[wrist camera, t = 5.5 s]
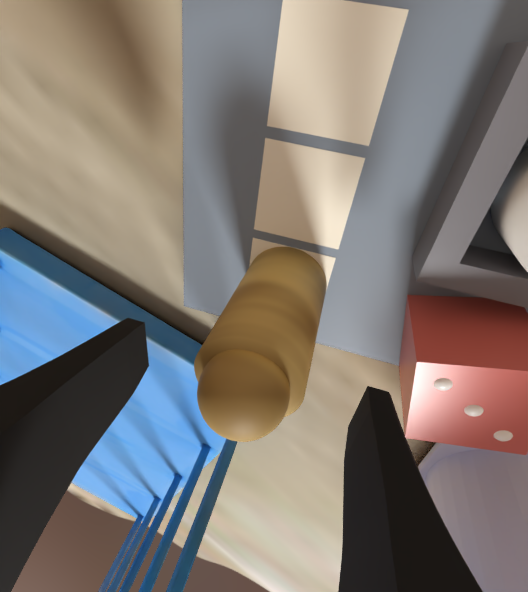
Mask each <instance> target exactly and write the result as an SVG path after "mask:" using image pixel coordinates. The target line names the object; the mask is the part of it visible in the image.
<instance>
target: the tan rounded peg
mask: <svg viewBox="0 0 528 592" xmlns="http://www.w3.org/2000/svg"><path fill="white" fill-rule="evenodd" d="M326 289H327V282H326V277H325V274H324V271H323V269H322V268H321V266H320V265H319V263H318V262H317V261H316V260H315V259H314V258H313V257H312V256H310V255H309V254H307V253H306V252H304V251H301V250H299V249H296V248H292V247H283V246H282V247H274V248H270V249H267V250H265V251H263V252H262V253H260V254H259V255H258V256H257V257H256V258H255V259H254V260H253V262H252V263H251V265H250V267H249V268H248V270H247V272H246V273H245V275H244V277H243V278H242V280H241V282H240V283H239V285H238V287H237V288H236V290H235V292H234V293H233V295H232V297H231V298H230V300H229V302H228V303H227V305H226V307H225V308H224V310H223V312H222V313H221V315H220V317H219V318H218V320H217V322H216V323H215V325H214V327H213V328H212V330H211V332H210V333H209V335H208V337H207V338H206V340H205V342H204V343H203V345H202V347H201V348H200V350H199V352H198V354H197V355H196V358H195V362H194V371H195V375H196V378H197V381H198V388H197V402H198V406H199V410H200V412H201V415H202V417H203V419H204V420H205V422H206V423H207V425H208V426H209V427H210V428H211V429H212V430H213V431H214V432H216V433H217V434H218V435H220V436H222V437H224V438H226V439H229V440H232V441H239V442H248V441H253V440H257V439H259V438H262V437H264V436H266V435H267V434H269V433H270V432H272V431H273V430H274V429H275V428H276V427H277V426H278V425H279V423H280V422H281V421H282V419H283V418H284V417H286V416H288V415H290V414H292V413H293V412H295V411H296V410H297V409H298V408H299V407H300V405H301V404H302V402H303V399H304V395H305V391H306V386H307V381H308V376H309V371H310V366H311V361H312V357H313V352H314V347H315V342H316V337H317V332H318V327H319V323H320V318H321V313H322V308H323V303H324V298H325V294H326Z"/></svg>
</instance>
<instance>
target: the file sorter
mask: <svg viewBox="0 0 528 592" xmlns="http://www.w3.org/2000/svg"><path fill="white" fill-rule="evenodd" d="M126 318H131V319H135V320H138V321H142V322H145V329H146V340H147V350H148V360H149V367H148V368H147V370H146V372H145V374H144V376H143V378H142V380H141V381H140V383H139V385H138V387H137V388H136V390H135V392H134V393H133V395H132V396H131V398H130V399H129V400H128V402H127V403H126V405H125V406H124V407H123V409H122V410H121V412H120V413H119V414H118V416H117V417H116V418H115V420H114V421H113V422H112V424H111V425H110V426H109V428H108V429H107V431H106V432H105V433H104V435H103V436H102V437H101V439H100V440H99V441H98V443H97V444H96V445H95V447H94V448H93V450H92V451H91V452H90V454H89V455H88V457H87V458H86V460H85V461H84V463H83V464H82V466H81V467H80V469H79V470H78V472H77V474H76V475H75V477H74V479H73V480H72V482H71V483H73V484H75V485H76V486H78V487H80V488H82V489H84V490H86V491H87V492H89V493H91V494H93V495H95V496H97V497H98V498H100V499H102V500H104V501H106V502H108V503H109V504H111V505H113V506H115V507H117V508H119V509H121V510H122V511H124V512H126V513H128V514H130V515H132V516H133V517H135V518H137V519H136V521H135V523H134V525H133V527H132V529H131V530H130V532H129V534H128V536H127V538H126V540H125V542H124V544H123V545H122V547H121V549H120V551H119V553H118V555H117V557H116V559H115V561H114V562H113V564H112V566H111V568H110V570H109V572H108V574H107V576H106V577H105V579H104V581H103V583H102V585H101V587H100V589H99V591H98V592H105V591H106V589H107V587H108V585H109V583H110V581H111V579H112V578H113V575H114V574H115V572H116V570H117V568H118V566H119V564H120V562H121V560H122V558H123V556H124V554H125V552H126V551H127V549H128V547H129V545H130V543H131V541H132V539H133V537H134V535H135V533H136V531H137V529H138V527H139V525H140V523H141V521H143V522H142V524H141V526H140V528H139V530H138V532H137V534H136V536H135V538H134V540H133V542H132V544H131V546H130V548H129V550H128V552H127V554H126V556H125V558H124V560H123V562H122V564H121V566H120V568H119V570H118V572H117V574H116V576H115V578H114V579H113V581H112V583H111V585H110V587H109V589H108V591H107V592H116V590H117V588H118V586H119V584H120V582H121V580H122V578H123V576H124V574H125V571H126V570H127V568H128V566H129V564H130V562H131V560H132V558H133V556H134V554H135V551H136V549H137V547H138V545H139V543H140V541H141V539H142V537H143V535H144V533H145V531H146V529H147V527H148V525H149V523H150V521H151V518H152V517H154V516H155V515H156V516H155V518H154V520H153V522H152V524H151V526H150V529H149V531H148V533H147V535H146V537H145V539H144V541H143V543H142V545H141V547H140V549H139V551H138V553H137V555H136V557H135V559H134V562H133V564H132V566H131V568H130V570H129V572H128V574H127V576H126V578H125V580H124V582H123V584H122V586H121V588H120V590H119V592H129V590H130V588H131V586H132V584H133V582H134V580H135V578H136V575H137V573H138V571H139V569H140V567H141V565H142V563H143V561H144V558H145V556H146V554H147V552H148V550H149V548H150V546H151V543H152V541H153V539H154V537H155V535H156V533H157V530H158V528H159V526H160V524H161V522H162V520H163V518H164V516H165V513H166V511H167V509H168V507H169V505H170V503H171V500H172V498H173V497H174V496H175V495H176V494H177V493H178V492H179V491H180V490H181V489H182V488H183V487H184V489H183V492H182V494H181V496H180V498H179V501H178V503H177V505H176V507H175V510H174V512H173V514H172V517H171V519H170V521H169V523H168V525H167V528H166V530H165V532H164V535H163V537H162V539H161V542H160V544H159V546H158V548H157V551H156V553H155V555H154V557H153V560H152V562H151V564H150V567H149V569H148V571H147V574H146V576H145V578H144V581H143V583H142V585H141V588H140V590H139V592H151V591H152V588H153V586H154V584H155V581H156V579H157V577H158V574H159V572H160V569H161V567H162V565H163V562H164V560H165V557H166V555H167V553H168V550H169V548H170V546H171V543H172V541H173V538H174V536H175V534H176V531H177V529H178V526H179V524H180V522H181V519H182V517H183V514H184V512H185V510H186V507H187V505H188V502H189V500H190V497H191V495H192V492H193V490H194V487H195V485H196V483H197V480H198V478H199V476H200V473H201V471H202V469H203V468H204V467H205V466H206V465H207V464H208V463H209V462H210V461H211V460H212V459H213V458H215V457H216V456H217V455H218V454H219V453H220V452H221V453H220V456H219V458H218V461H217V464H216V466H215V469H214V471H213V474H212V476H211V479H210V481H209V484H208V487H207V489H206V492H205V494H204V497H203V499H202V502H201V504H200V507H199V509H198V512H197V514H196V517H195V520H194V522H193V525H192V527H191V530H190V532H189V535H188V537H187V540H186V542H185V545H184V547H183V550H182V552H181V555H180V558H179V560H178V562H177V565H176V568H175V570H174V573H173V575H172V578H171V580H170V583H169V585H168V588H167V590H166V592H183V590H184V587H185V584H186V581H187V579H188V576H189V573H190V570H191V568H192V565H193V562H194V560H195V557H196V554H197V552H198V549H199V546H200V543H201V541H202V538H203V535H204V533H205V530H206V527H207V524H208V522H209V519H210V516H211V513H212V511H213V508H214V505H215V502H216V500H217V497H218V494H219V491H220V489H221V486H222V483H223V480H224V477H225V475H226V472H227V469H228V467H229V464H230V461H231V458H232V456H233V453H234V450H235V447H236V444H237V441H232V440H229V439H226V438H224V437H222V436H220V435H218V434H217V433H216V432H214V431H213V430H212V429H211V428H210V427H209V426H208V425H207V423H206V422H205V420H204V419H203V417H202V415H201V412H200V410H199V406H198V402H197V388H198V381H197V378H196V375H195V371H194V362H195V358H196V355H197V354H198V352H199V350H200V348H201V347H202V345H201V344H199V343H198V342H196V341H194V340H193V339H191V338H189V337H188V336H186V335H184V334H183V333H181V332H179V331H178V330H176V329H174V328H173V327H171V326H169V325H168V324H166V323H164V322H163V321H161V320H160V319H158V318H156V317H155V316H153V315H151V314H150V313H148V312H146V311H145V310H143V309H141V308H140V307H138V306H136V305H135V304H133V303H131V302H130V301H128V300H126V299H125V298H123V297H121V296H120V295H118V294H116V293H115V292H113V291H111V290H110V289H108V288H106V287H105V286H103V285H101V284H100V283H98V282H96V281H95V280H93V279H91V278H90V277H88V276H86V275H85V274H83V273H81V272H80V271H78V270H76V269H75V268H73V267H71V266H70V265H68V264H67V263H65V262H63V261H62V260H60V259H58V258H57V257H55V256H53V255H52V254H50V253H49V252H47V251H45V250H44V249H42V248H40V247H39V246H37V245H35V244H34V243H32V242H30V241H28V240H27V239H25V238H23V237H22V236H20V235H19V234H17V233H16V232H14V231H13V230H11V229H10V228H3V229H1V230H0V385H2V384H4V383H6V382H8V381H10V380H13V379H15V378H17V377H19V376H21V375H23V374H25V373H27V372H29V371H31V370H33V369H35V368H37V367H39V366H41V365H43V364H45V363H47V362H49V361H51V360H53V359H55V358H57V357H59V356H61V355H62V354H64V353H66V352H68V351H70V350H71V349H73V348H75V347H77V346H79V345H80V344H82V343H84V342H86V341H88V340H89V339H91V338H93V337H94V336H96V335H98V334H100V333H101V332H103V331H105V330H107V329H108V328H110V327H112V326H114V325H115V324H117V323H119V322H121V321H122V320H124V319H126Z"/></svg>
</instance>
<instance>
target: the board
mask: <svg viewBox="0 0 528 592" xmlns="http://www.w3.org/2000/svg"><path fill="white" fill-rule="evenodd" d="M182 26H183V218H184V306H186V307H189V308H193V309H196V310H200V311H204V312H207V313H211V314H214V315H218V316H220V315H221V313H222V312H223V310H224V308H225V307H226V305H227V303H228V302H229V300H230V298H231V297H232V295H233V293H234V292H235V290H236V288H237V287H238V285H239V283H240V282H241V280H242V278H243V277H244V275H245V273H246V272H247V270H248V268H249V267H250V265H251V263H252V262H253V260H254V259H255V258H256V257H257V256H258V255H259V254H260V253H262V252H263V251H265V250H267V249H270V248H274V247H282V246H283V247H292V248H296V249H299V250H301V251H304V252H306V253H307V254H309V255H310V256H312V257H313V258H314V259H315V260H316V261H317V262H318V263H319V265H320V266H321V268H322V269H323V271H324V274H325V277H326V282H327V289H326V294H325V298H324V303H323V308H322V313H321V318H320V323H319V327H318V332H317V337H316V342H315V343H319V344H322V345H326V346H330V347H333V348H337V349H340V350H344V351H347V352H351V353H355V354H358V355H362V356H365V357H369V358H373V359H376V360H380V361H383V362H387V363H391V364H394V365H398V366H399V360H400V352H401V344H402V335H403V327H404V319H405V310H406V302H407V295H425V296H453V297H480V296H476V295H472V294H468V293H463V292H459V291H455V290H451V289H447V288H443V287H439V286H435V285H431V284H427V283H423V282H419V281H416V276H415V271H414V266H413V261H412V256H413V254H414V251H415V249H416V247H417V245H418V242H419V240H420V238H421V236H422V233H423V231H424V229H425V227H426V224H427V222H428V220H429V218H430V215H431V213H432V211H433V209H434V206H435V204H436V202H437V200H438V197H439V195H440V193H441V190H442V188H443V186H444V184H445V181H446V179H447V177H448V175H449V172H450V170H451V168H452V166H453V163H454V161H455V159H456V157H457V154H458V152H459V150H460V148H461V145H462V143H463V141H464V139H465V136H466V134H467V132H468V130H469V127H470V125H471V123H472V121H473V118H474V116H475V114H476V112H477V109H478V107H479V105H480V102H481V100H482V98H483V96H484V93H485V91H486V89H487V87H488V84H489V82H490V80H491V78H492V75H493V73H494V71H495V69H496V66H497V64H498V62H499V60H500V57H501V55H502V53H503V51H504V48H505V46H506V44H507V43H514V42H523V41H528V0H182ZM527 148H528V138H527V140H526V141H525V143H524V145H523V147H522V149H521V151H520V153H519V154H518V156H519V155H520V154H521V153H522V152H523V151H524V150H526V149H527ZM470 245H472V246H476V247H481V248H485V249H490V250H494V251H498V252H503V253H507V254H512V255H514V254H513V252H512V251H511V250H510V248H509V247H508V245H507V244H506V243H505V241H504V240H503V239H502V237H501V236H500V234H499V233H498V231H497V230H496V228H495V226H494V224H493V221H492V216H491V206H490V208H489V210H488V211H487V213H486V215H485V217H484V219H483V221H482V223H481V224H480V226H479V228H478V230H477V232H476V234H475V235H474V237H473V239H472V241H471V243H470ZM481 298H484V297H481ZM524 308H525V307H524ZM525 309H526V311H527V313H528V308H525Z"/></svg>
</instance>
